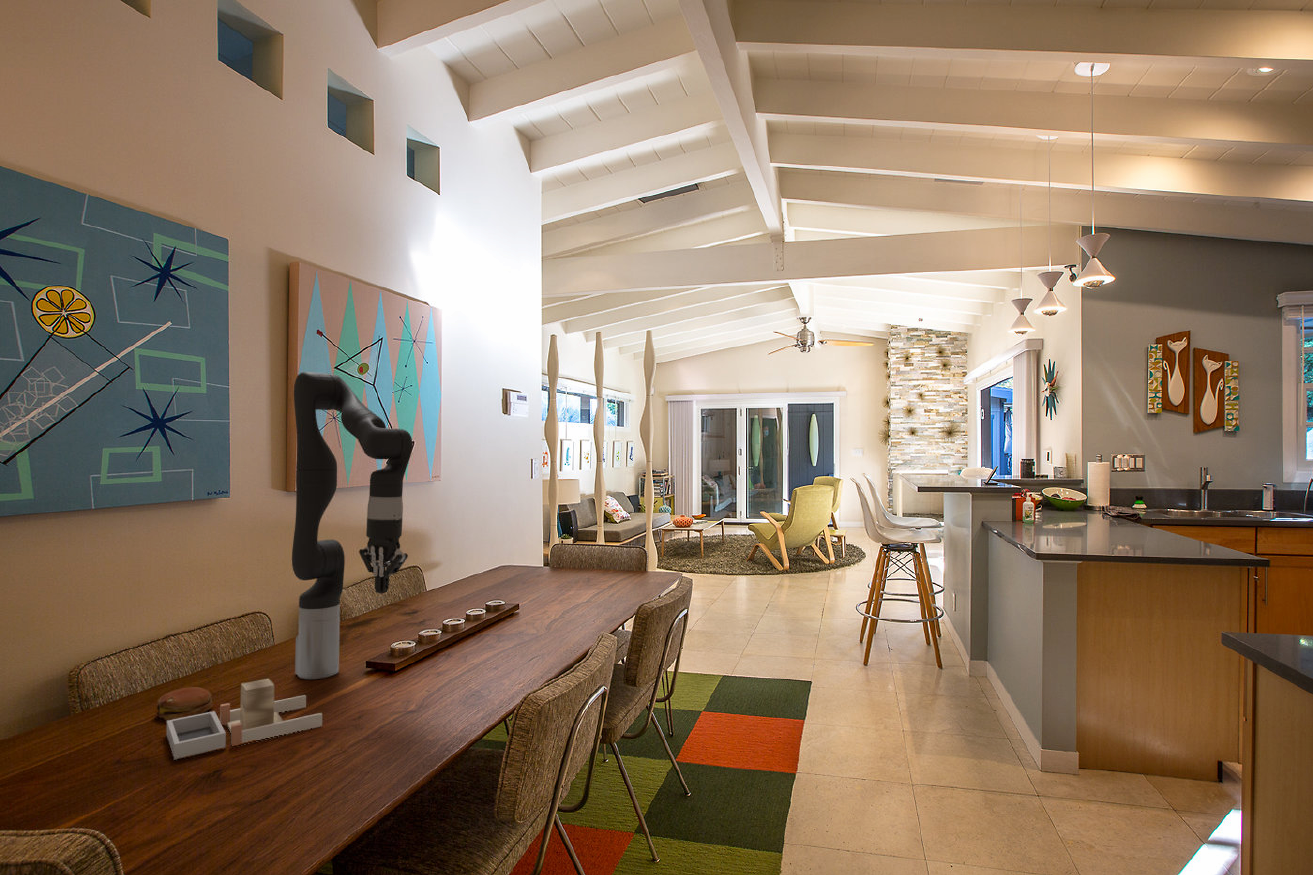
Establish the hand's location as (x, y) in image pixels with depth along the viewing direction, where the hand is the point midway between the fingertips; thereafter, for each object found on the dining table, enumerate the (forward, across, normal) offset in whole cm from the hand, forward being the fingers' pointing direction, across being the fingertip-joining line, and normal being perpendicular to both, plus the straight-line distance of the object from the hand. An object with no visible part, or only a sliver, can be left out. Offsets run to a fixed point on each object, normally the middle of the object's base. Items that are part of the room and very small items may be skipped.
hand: (381, 592), depth 158 cm
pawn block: (+25, -9, -23) cm, 35 cm away
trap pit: (+25, -14, -32) cm, 43 cm away
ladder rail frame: (+25, -8, -20) cm, 33 cm away
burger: (+26, -30, -24) cm, 46 cm away
